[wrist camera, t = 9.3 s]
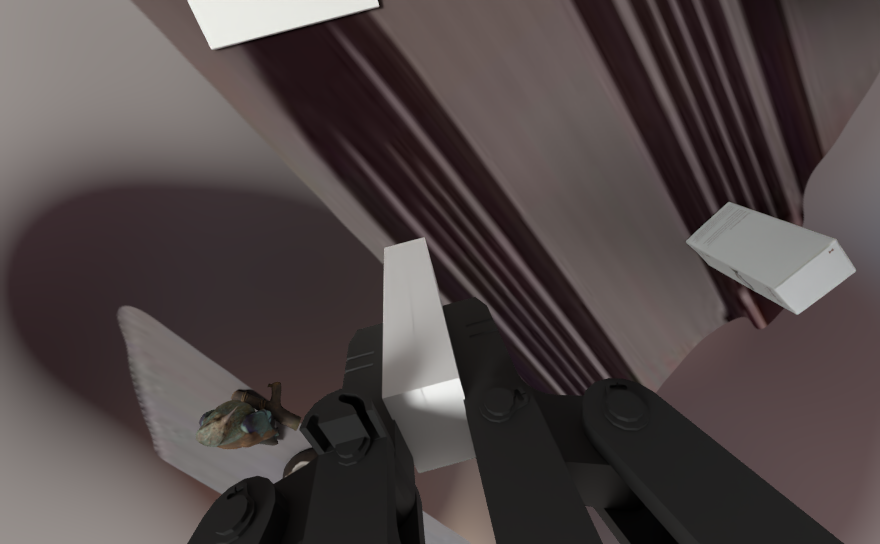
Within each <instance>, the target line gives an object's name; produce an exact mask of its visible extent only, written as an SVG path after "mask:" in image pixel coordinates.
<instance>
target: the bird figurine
mask: <svg viewBox="0 0 880 544" xmlns="http://www.w3.org/2000/svg"><path fill="white" fill-rule="evenodd" d="M268 387H272V397H271V400H270V401H266V400H263V399H260V398H258V397H255V396H252V395H250V394H249V393H247V391H246V392H241V391H238V390H237V391H235V392H234V393H233V395H232V397H231V399H232V400H231V401H227V402H225V403H223V404H221V405H220V406H218V407H217V408H216V409H215V410H211V411H209V412H206V413H205V414H203V415H202V417H201V419H200V421H199V424H200V426H201V427H200V429H199V430H198V431H197V433H196V439H197V441H198V442H199V443H201V444H203V445H205V446H209V447H219V448H223V449H237V448H241V447H251V446H253V445H256V444H265V445H272V446H273V445H277V444H278V441H277V438H276V436H279V434H278V431H279V430H278V427H277V428H275V420H276V421H278V422H279V423H280V424H283V425H286V426H288V427H290V428H292V429H294V430H295V431H296V430H297V428H298V426H299V423H300V420H301V417H299V416H297V415H295V414H293V413H290V412H289V411H287V410H286V409H284V408H283V407H282V406H281V403H280V396H281V383H280V382H276V383H273V384H269V385H268ZM255 409H256V410H258V411H257V412H255Z"/></svg>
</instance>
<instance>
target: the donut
mask: <svg viewBox="0 0 880 544" xmlns="http://www.w3.org/2000/svg"><path fill="white" fill-rule="evenodd" d="M316 456H318V454H317V452H316V451H315V450H314V449H309V450H306V451H303V452H300V453H299V454H297V455H296V456H294V457H293V458H292V459H291V460H290V461H289V462H288V464H287V465H286V466H285V469H284V472H283V478H285V477H286V476H288V475H290V474H291V473H293V472H295V471H296V470H298V469H300V468H301V467H303V466H305V465H306V464H307V463H309V462H310V461H312V460H313V459H314V458H315V457H316Z"/></svg>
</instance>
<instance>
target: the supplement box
mask: <svg viewBox="0 0 880 544" xmlns="http://www.w3.org/2000/svg"><path fill="white" fill-rule="evenodd" d="M686 243H687V244H688V245H689V246H690V247H692V248H693V249H694V250H695V251H696V252H697V253H698V254H699V255H700V256H701V257H702V258H703V259H704V260H705V261H706V262H707V264H708V265H710V266H711V267H713V268H715V269H717V270H718V271H720V272H722V273H724V274H725V275H727V276H729V277H731V278H732V279H734V280H736V281H738V282H739V283H741V284H743V285H745V286H746V287H748V288H750V289H752V290H753V291H755V292H757V293H759V294H761V295H763V296H764V297H766V298H768V299H770V300H772V301H773V302H775V303H777V304H779V305H780V306H782V307H784V308H786V309H788V310H789V311H791V312H793V313H795V314H797V315H798V314H799V313H801V312H802V311H804V310H805V309H806V308H808V307H809V306H811V305H812V304H813V303H814V302H816V301H817V300H819V299H820V298H821V297H823V296H824V295H825V294H827V293H828V292H829V291H831V290H832V289H833V288H835V287H836V286H837V285H838V284H840V283H841V282H842V281H844V280H845V279H846V278H848V277H849V276H850V275H852V274H853V273H854V272H856V269H855V267H854V266H853V265H852V263H851V261H850V260H849V258H848V257H847V255H846V253H845V252H844V250H843V249H842V247H841V246H840V244H839V243H838V241H837V240H836V239H835V238H831V237H829V236H826V235H823V234H820V233H817V232H815V231H812V230H809V229H806V228H803V227H800V226H797V225H794V224H792V223H789V222H786V221H783V220H780V219H777V218H774V217H771V216H769V215H766V214H763V213H760V212H757V211H754V210H751V209H749V208H746V207H743V206H740V205H737V204H734V203H731V202H728V203H727V204H726V205H724V206H723V207H722V208H721V209H720V210H719V211H718V212H717V213H716V214H715V215H713V216H712V217H711V218H710V219H709V220H708V221H707V222H706V223H705V224H703V225H702V226H701V227H700V228H699V229H698V230H697V231H696V232H695V233H694V234H693V235H692V236H691V237H689V239H687V241H686Z"/></svg>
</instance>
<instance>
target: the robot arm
mask: <svg viewBox="0 0 880 544" xmlns="http://www.w3.org/2000/svg"><path fill="white" fill-rule="evenodd" d="M345 372H346V374H345V375H344V381H343V388H342V389H339V390H337V391H335V392H332V393H330V394H327V395H326V396H325V397H323V398H322V399H321V400H319V401H318V402H317V403H315V404H314V406H313V407H312V408H311V409H310V411H309V412H308V413H307V414H306V415H305V417H304V420H303V422H302V424H301V426H300V429H299V430H300V431H301V432H302V434H303V435H304V436H305V438H306V439H307V440H308V442H309V443H310V444H311V446H312V447H313V448H314V450H315V451H316V452H317V454H318V456H316V457H315V458H314V459H313V460H312V461H310V462H309V463H307V464H306V465H305V466H303V467H301V468H300V469H298V470H296V471H295V472H293V473H291V474H290V475H288V476H286V477H285V478H283V479H281V480H280V481H278V482H276V483H275V484H273V483H272V482H271V481H270V480H269V479H268V478H264V477H260V476H255V477H251V478H247V479H244V480H242V481H240V482H238V483H237V484H235V485H233V486H232V487H230V488H229V489H228V490H227V491H225V492H224V493H223V494H222V495H221V496H220V497H219V498H218V499H217V500H216V501H215V502H214V503H213V505H212V506H211V507H210V509H209V510H208V511H207V513H206V514H205V515H204V517H203V518H202V520H201V522H200V523H199V525H198V527H197V528H196V530H195V532H194V533H193V535H192V537H191V539H190V540H189V542H188V543H187V544H425V536H424V524H423V513H422V502H421V498H420V495H419V491H418V489H417V487H416V485H415V475H414V465H415V467H416V469H417V471H418V473H422V472H425V471H429V470H433V469H436V468H440V467H444V466H447V465H451V464H454V463H458V462H462V461H465V460H469V459H473V458H476V459H477V463H478V467H479V472H480V476H481V480H482V485H483V489H484V493H485V497H486V502H487V506H488V510H489V514H490V518H491V522H492V527H493V531H494V535H495V540H496V544H603V543H602V541H601V539H600V537H599V535H598V532H597V530H596V528H595V526H594V524H593V522H592V520H591V518H590V515H589V513H588V511H587V509H586V507H585V506H591V507H593V508H594V509H595V510H596V511H597V513H598V514H599V516H600V517H601V518H602V520H603V521H604V522H605V524H606V525H607V526H608V528H609V529H610V530H611V532H612V533H613V535H614V536H615V537H616V539H617V540H618V541H619V543H620V544H844V543H843V542H841V541H840V540H839V539H837V538H836V537H835V536H834V535H833V534H831V533H830V532H829V531H827V530H826V529H825V528H824V527H822V526H821V525H820V524H819V523H817V522H816V521H815V520H814V519H812V518H811V517H810V516H809V515H807V514H806V513H805V512H804V511H802V510H801V509H800V508H799V507H797V506H796V505H795V504H794V503H792V502H791V501H790V500H789V499H787V498H786V497H785V496H784V495H782V494H781V493H780V492H779V491H777V490H776V489H775V488H774V487H772V486H771V485H770V484H769V483H767V482H766V481H765V480H763V479H762V478H761V477H760V476H759V475H757V474H756V473H755V472H754V471H752V470H751V469H750V468H748V467H747V466H746V465H745V464H743V463H742V462H741V461H740V460H738V459H737V458H736V457H735V456H733V455H732V454H731V453H729V452H728V451H727V450H726V449H725V448H723V447H722V446H721V445H720V444H718V443H717V442H716V441H715V440H713V439H712V438H711V437H710V436H708V435H707V434H706V433H704V432H703V431H702V430H701V429H700V428H698V427H697V426H696V425H695V424H693V423H692V422H691V421H690V420H688V419H687V418H685V417H684V416H683V415H682V414H680V412H678V411H677V410H676V409H675V408H673V407H672V406H671V405H669V404H668V403H667V402H666V401H664V400H663V399H662V398H661V397H659V396H658V395H657V394H656V393H654V392H653V391H651V390H649V389H648V388H646V387H644V386H643V385H641V384H639V383H636V382H633V381H629V380H626V379H611V378H608V379H604V380H601V381H598V382H595V383H594V384H593V385H591V386H590V387H589V388H588V389H587V390H586V392H585V394H584V396H571V395H554V394H547V393H544V392H541V391H538V390H536V389H534V388H532V387H530V386H529V385H527V384H526V383H525V382H524V381H523V380H522V379H521V378H520V376H519V375H518V373H517V371H516V369H515V367H514V365H513V362H512V360H511V358H510V356H509V354H508V351H507V349H506V347H505V345H504V343H503V340H502V338H501V336H500V334H499V331H498V330H497V327H496V325H495V323H494V320H493V318H492V316H491V314H490V312H489V309H488V307H487V305H485V304H484V303H482V302H481V301H480V300H478V299H477V298H476V297H474V298H470V299H466V300H463V301H459V302H455V303H451V304H448V305H444V306H443V304H442V300H441V296H440V292H439V289H438V285H437V281H436V278H435V274H434V270H433V267H432V263H431V259H430V256H429V252H428V248H427V245H426V241H425V237H424V238H420V239H416V240H412V241H409V242H405V243H401V244H397V245H394V246H390V247H386V248H384V303H383V323H382V324H378V325H374V326H370V327H367V328H363V329H359V330H357V332H356V333H355V335H354V337H353V338H352V340H351V341H350V343H349V347H348V354H347V362H346V368H345Z"/></svg>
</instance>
